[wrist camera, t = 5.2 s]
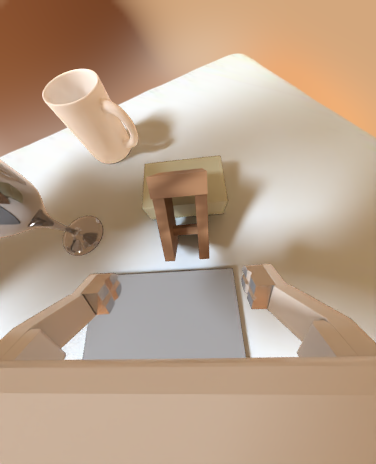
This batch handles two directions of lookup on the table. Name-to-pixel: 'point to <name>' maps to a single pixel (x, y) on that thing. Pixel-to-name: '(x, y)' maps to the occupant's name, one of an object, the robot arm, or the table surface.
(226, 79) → the table surface
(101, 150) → the mug
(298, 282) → the table surface
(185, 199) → the pale olive rectangular block
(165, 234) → the stool
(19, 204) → the wine glass
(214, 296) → the mat
